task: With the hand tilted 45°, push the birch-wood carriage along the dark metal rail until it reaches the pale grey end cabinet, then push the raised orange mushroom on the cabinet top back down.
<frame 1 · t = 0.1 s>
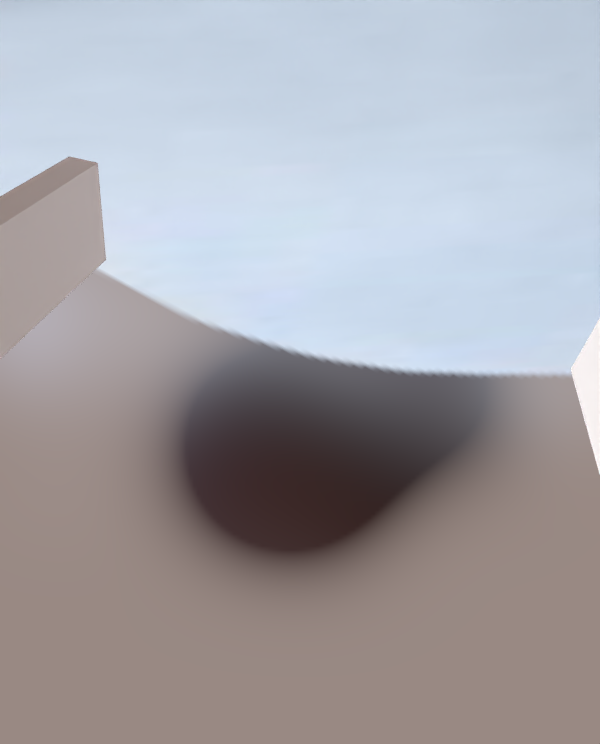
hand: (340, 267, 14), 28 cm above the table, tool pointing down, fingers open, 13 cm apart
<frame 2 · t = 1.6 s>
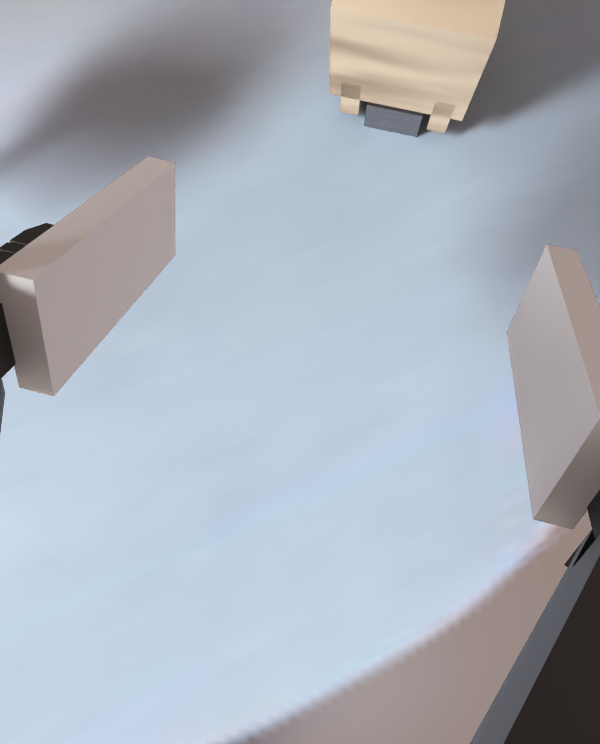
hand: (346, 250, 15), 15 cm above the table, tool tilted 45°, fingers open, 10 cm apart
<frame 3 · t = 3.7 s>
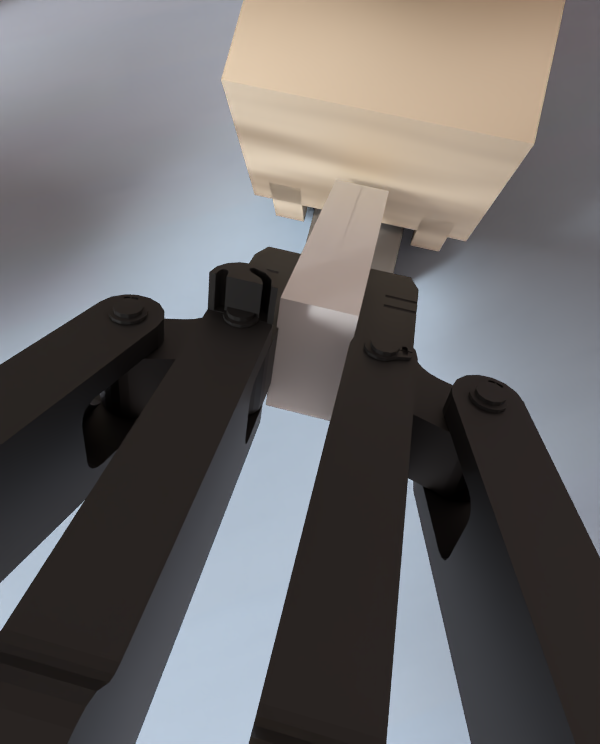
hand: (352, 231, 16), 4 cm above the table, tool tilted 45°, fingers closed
rail track: (412, 10, 22), on the table
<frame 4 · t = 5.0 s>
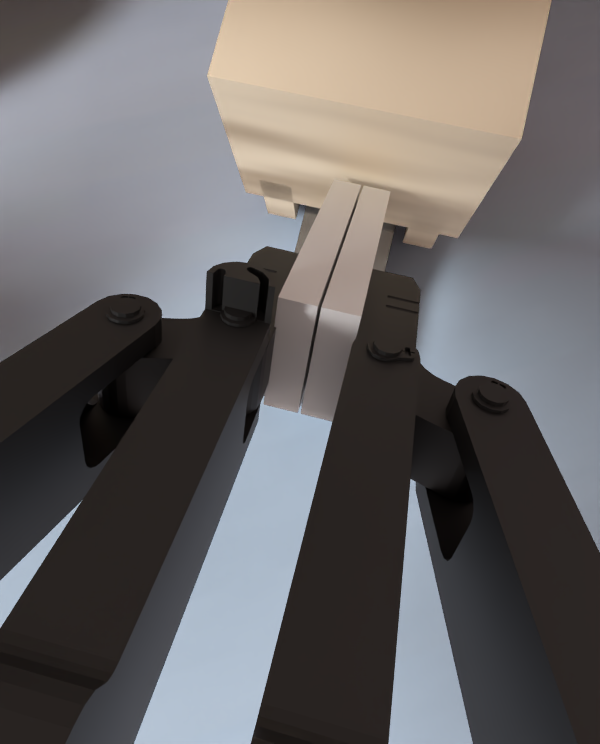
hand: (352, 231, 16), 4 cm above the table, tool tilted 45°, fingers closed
rail track: (377, 119, 21), on the table
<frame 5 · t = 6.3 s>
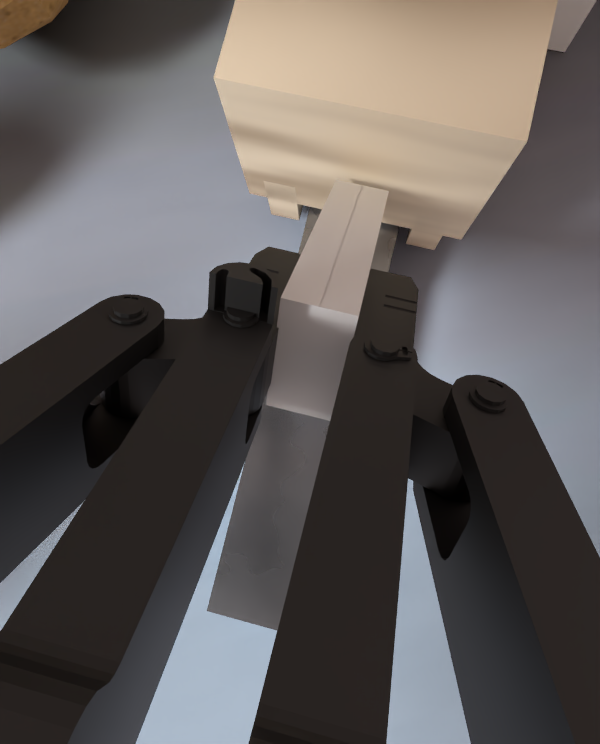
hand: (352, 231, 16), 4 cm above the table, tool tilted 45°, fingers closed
rail track: (337, 296, 20), on the table
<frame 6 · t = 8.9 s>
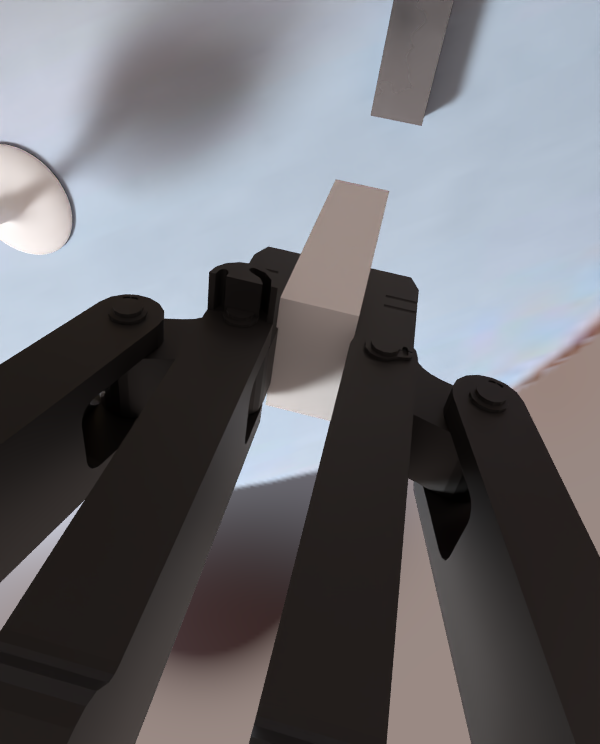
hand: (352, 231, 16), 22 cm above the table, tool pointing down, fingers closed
wineglass: (22, 200, 44), on the table
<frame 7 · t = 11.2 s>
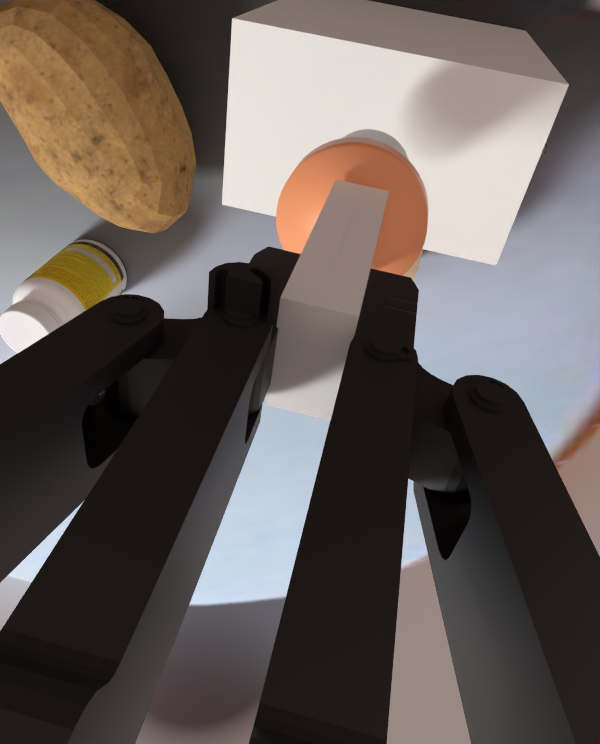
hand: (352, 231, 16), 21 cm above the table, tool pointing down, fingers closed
carriage: (353, 260, 31), point 9 cm above the table, slide at 14.0 cm, touching end cabinet
potato: (135, 104, 37), on the table
supplement bottle: (97, 267, 46), on the table
end cabinet: (398, 79, 33), on the table
orange mushroom: (359, 197, 18), point 19 cm above the table, slide at 2.3 cm, touching gripper
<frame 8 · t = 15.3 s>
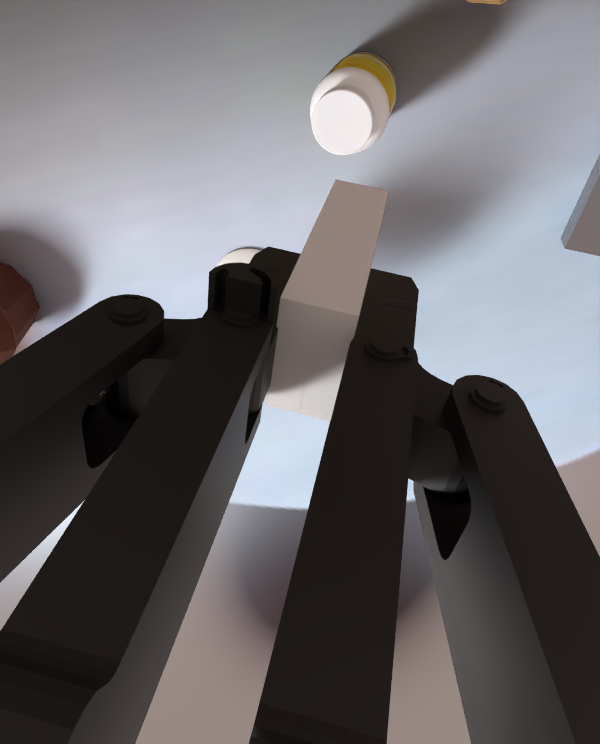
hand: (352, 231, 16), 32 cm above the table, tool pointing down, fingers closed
supplement bottle: (362, 90, 44), on the table
wineglass: (255, 287, 56), on the table
muffin: (2, 293, 64), on the table
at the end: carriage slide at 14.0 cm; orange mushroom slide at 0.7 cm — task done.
